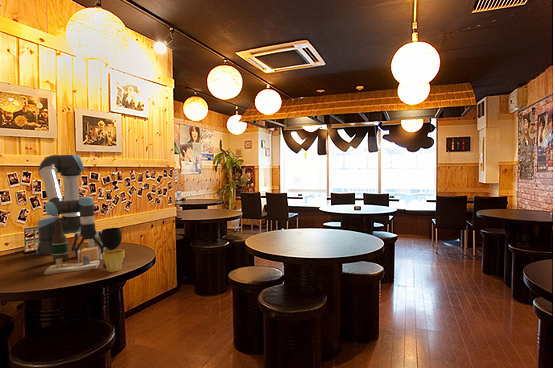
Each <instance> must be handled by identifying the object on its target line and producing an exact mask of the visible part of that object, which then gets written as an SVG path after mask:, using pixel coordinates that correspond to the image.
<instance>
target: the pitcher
mask: <svg viewBox="0 0 555 368" xmlns="http://www.w3.org/2000/svg"><path fill="white" fill-rule="evenodd" d="M95 237H96V238H97V239H98V241H99V242H100V243H101V244H102V241H101V239H100V237H99V235H98V234H97V233H96V235H95ZM87 241H88V242H87V243H88V248H92V247H98V250H99V249H100V247H99V246H98V244H97V243H96V242H95V241H94V240H93V239H87ZM102 245H103V244H102ZM106 250H107V248H106V247H104V248H103V251H104V252H106Z"/></svg>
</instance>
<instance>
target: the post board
mask: <svg viewBox="0 0 555 368" xmlns="http://www.w3.org/2000/svg"><path fill="white" fill-rule="evenodd" d="M100 263H101V260H100V259H98V260H96V261H90V259H89V255H86V256H83V262H81V261H80V262H78V261H77V262H71V263H63V262H62V258H59V259H56V262H55V265H50V266H49V267H47V269H46V270H44V271H43V275H45V276H46V275H52V274H53V275H54V274H61V273H70V272H79V271H87V270H93V269H97V267H99V264H100Z"/></svg>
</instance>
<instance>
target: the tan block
mask: <svg viewBox="0 0 555 368" xmlns="http://www.w3.org/2000/svg"><path fill="white" fill-rule="evenodd" d="M86 255H89V259H90V261H96V260H100V254H99V250H98V247H92V248H89V247H87V248H86V247H84V248H82V249H81V250H80V258H81V261H80V262H83V256H86Z"/></svg>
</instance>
